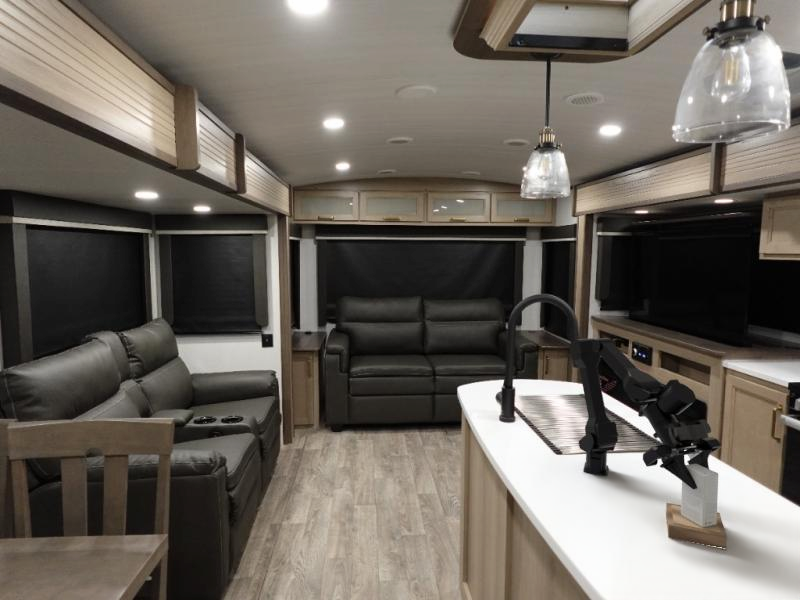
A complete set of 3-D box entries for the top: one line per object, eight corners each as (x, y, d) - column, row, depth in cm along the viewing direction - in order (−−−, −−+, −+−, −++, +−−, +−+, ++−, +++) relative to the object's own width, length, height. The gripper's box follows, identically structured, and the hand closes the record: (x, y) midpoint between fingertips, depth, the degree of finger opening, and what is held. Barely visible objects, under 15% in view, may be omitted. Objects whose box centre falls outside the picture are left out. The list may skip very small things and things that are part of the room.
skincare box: (717, 525, 110) (719, 473, 109) (702, 528, 109) (704, 476, 108) (693, 511, 116) (695, 462, 115) (679, 514, 115) (681, 465, 114)
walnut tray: (665, 514, 121) (666, 502, 121) (718, 524, 116) (719, 512, 116) (668, 537, 111) (669, 524, 111) (726, 549, 106) (726, 536, 106)
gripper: (653, 412, 112) (693, 479, 102) (716, 404, 118) (759, 467, 108) (627, 434, 120) (662, 498, 110) (686, 426, 126) (725, 486, 116)
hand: (703, 487), depth 111 cm, fingers closed on skincare box, 4 cm apart
